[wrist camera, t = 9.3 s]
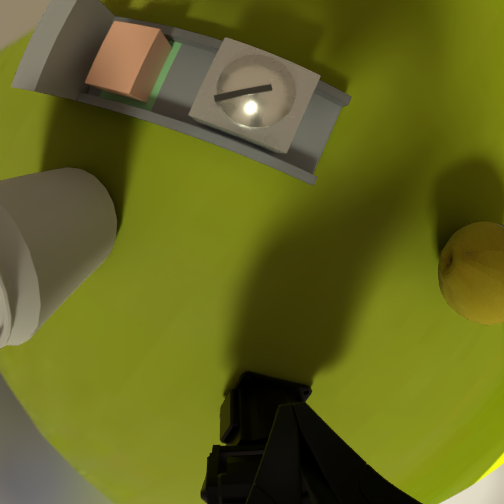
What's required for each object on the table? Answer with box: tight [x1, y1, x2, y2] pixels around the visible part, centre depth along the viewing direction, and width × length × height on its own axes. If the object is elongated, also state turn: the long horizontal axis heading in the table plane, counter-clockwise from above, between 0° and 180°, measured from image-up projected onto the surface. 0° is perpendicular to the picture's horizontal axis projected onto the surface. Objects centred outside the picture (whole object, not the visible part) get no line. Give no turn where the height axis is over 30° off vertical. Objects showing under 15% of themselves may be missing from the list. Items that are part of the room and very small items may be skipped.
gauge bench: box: [11, 0, 351, 185], centre depth 14 cm, size 18×6×6 cm, turn 67°
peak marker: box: [85, 21, 172, 103], centre depth 14 cm, size 3×4×4 cm
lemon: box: [438, 221, 504, 325], centre depth 18 cm, size 11×8×8 cm
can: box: [0, 167, 117, 348], centre depth 13 cm, size 8×8×12 cm
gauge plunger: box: [189, 37, 321, 153], centre depth 15 cm, size 5×4×5 cm
